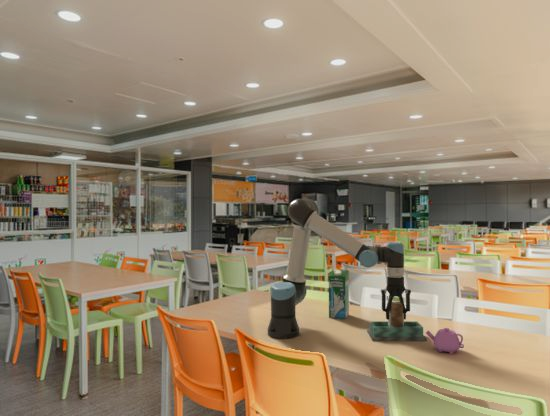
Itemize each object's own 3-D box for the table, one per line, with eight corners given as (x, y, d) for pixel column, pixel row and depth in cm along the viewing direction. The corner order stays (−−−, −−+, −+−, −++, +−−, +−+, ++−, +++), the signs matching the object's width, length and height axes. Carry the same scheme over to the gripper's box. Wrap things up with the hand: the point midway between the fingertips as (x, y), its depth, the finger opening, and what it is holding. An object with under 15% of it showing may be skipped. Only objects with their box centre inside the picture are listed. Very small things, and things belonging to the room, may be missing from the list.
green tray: (372, 340, 183) (372, 328, 183) (367, 332, 195) (367, 320, 195) (426, 340, 182) (426, 328, 182) (418, 332, 194) (418, 320, 194)
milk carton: (328, 317, 221) (328, 271, 221) (332, 313, 229) (332, 268, 229) (345, 319, 217) (345, 272, 217) (348, 314, 226) (348, 269, 226)
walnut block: (391, 330, 186) (391, 304, 186) (389, 327, 191) (388, 301, 191) (402, 330, 186) (402, 304, 186) (399, 327, 191) (399, 301, 191)
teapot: (462, 357, 162) (461, 334, 162) (422, 350, 171) (422, 328, 170) (465, 349, 171) (465, 327, 171) (428, 343, 179) (428, 322, 179)
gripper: (377, 277, 185) (378, 328, 185) (417, 277, 184) (418, 328, 185) (374, 274, 192) (374, 324, 193) (412, 274, 192) (413, 323, 192)
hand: (395, 326), depth 189 cm, fingers closed on walnut block, 5 cm apart
